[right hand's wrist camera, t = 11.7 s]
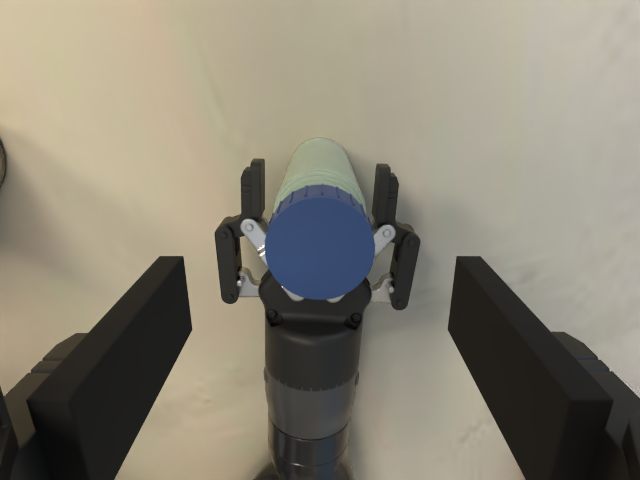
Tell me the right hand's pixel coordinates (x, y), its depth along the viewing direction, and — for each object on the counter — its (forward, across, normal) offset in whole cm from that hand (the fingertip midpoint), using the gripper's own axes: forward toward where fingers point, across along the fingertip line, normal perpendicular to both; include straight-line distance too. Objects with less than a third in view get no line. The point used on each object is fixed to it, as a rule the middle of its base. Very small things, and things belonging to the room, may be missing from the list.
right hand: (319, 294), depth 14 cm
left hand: (+16, 0, -2) cm, 16 cm away
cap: (+4, 0, 0) cm, 4 cm away
